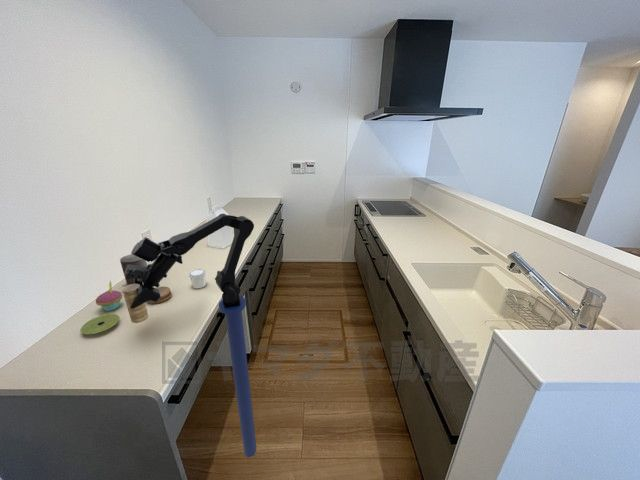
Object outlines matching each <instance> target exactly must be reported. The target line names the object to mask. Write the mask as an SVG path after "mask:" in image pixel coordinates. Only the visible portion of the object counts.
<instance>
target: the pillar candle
mask: <svg viewBox="0 0 640 480" xmlns="http://www.w3.org/2000/svg"><path fill="white" fill-rule="evenodd" d="M119 261H120V265H121V269H122V273H123V275H124V279H125V283H126V286H127V285H130V284H135V280H134V279H127V278H125V274H124V273H125V270H126V267H127V265H137V266H143V267H146V266H147V265H148V263H147V261H145V260H143V259H141V258H139V257H137V256H135V255H132V254H131V253H130V254H127V255H124V256H122V257H120V259H119Z"/></svg>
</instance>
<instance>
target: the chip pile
mask: <svg viewBox="0 0 640 480" xmlns="http://www.w3.org/2000/svg"><path fill="white" fill-rule="evenodd" d="M155 288H156V289H158V290H159V293H160V296H161V297H160V299H159V300H158V301H157V302H155V301H152V300H149V301H147V302H146V303H148V304H150V305H158V304H161V303H164V302H167V301H168V300H169V299H171V297H172V294H173V293H172V291H171V288H170V287H169V286H159V287H158V288H157V287H155Z"/></svg>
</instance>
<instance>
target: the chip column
mask: <svg viewBox="0 0 640 480" xmlns="http://www.w3.org/2000/svg"><path fill="white" fill-rule="evenodd" d="M139 288H140V284H130V285H127V284H126V285H125V286H123V287H122V288H121V293H122V296H123V299H124V302H125V305H126V309H127V311H128V315H129V319H130V321H131V323H132V324H138V323H142V322H144V321H146V320H148V318H149V313H148V309H147V305H146V302H145V303H143V304H141V305H139V306H137V307H136V308H134V309H132V308H130V306H131V304H132V303H133V301H134V299H135V297H136V296H137V291H136V289H139Z"/></svg>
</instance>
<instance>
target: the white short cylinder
mask: <svg viewBox="0 0 640 480" xmlns="http://www.w3.org/2000/svg"><path fill="white" fill-rule="evenodd" d="M188 275H189V279H190V282H191V285H192V287H193V289H201V288H204V287H205V286H206V285H207V282H206V270H205V269H202V268H197V269H193V270H191V271H189V273H188Z"/></svg>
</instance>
